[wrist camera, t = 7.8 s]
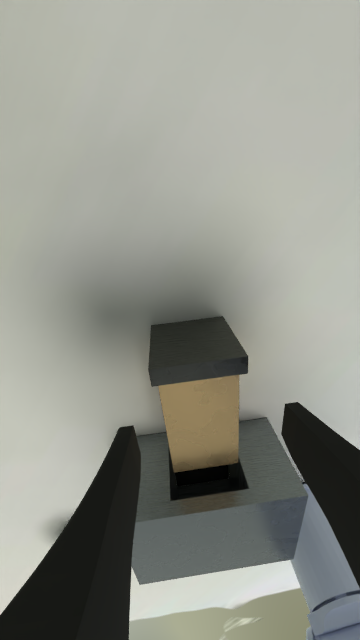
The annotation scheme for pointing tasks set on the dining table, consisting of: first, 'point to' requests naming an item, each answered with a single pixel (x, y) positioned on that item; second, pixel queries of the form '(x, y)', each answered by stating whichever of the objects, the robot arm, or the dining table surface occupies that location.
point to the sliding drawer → (198, 390)
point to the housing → (217, 510)
